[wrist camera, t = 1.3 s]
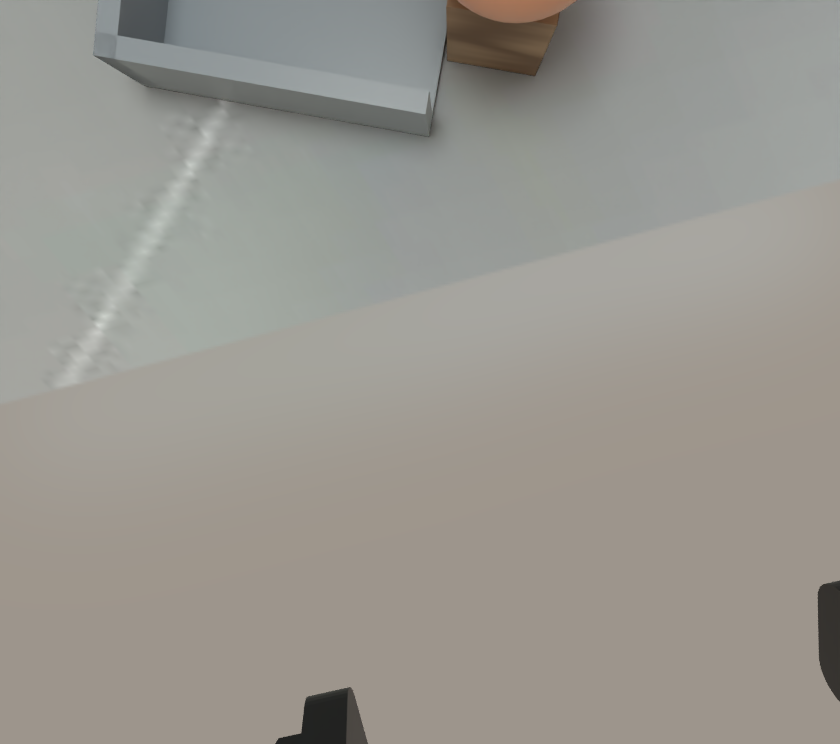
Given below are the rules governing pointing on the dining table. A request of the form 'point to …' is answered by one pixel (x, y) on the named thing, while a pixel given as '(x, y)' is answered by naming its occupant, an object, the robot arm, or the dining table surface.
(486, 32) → the wooden block
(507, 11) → the ball
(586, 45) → the dining table surface
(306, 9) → the tray
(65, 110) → the dining table surface
